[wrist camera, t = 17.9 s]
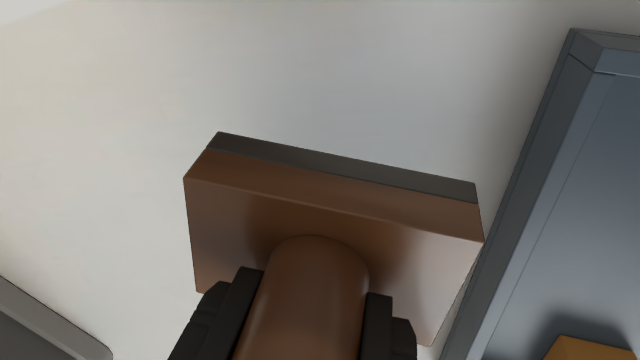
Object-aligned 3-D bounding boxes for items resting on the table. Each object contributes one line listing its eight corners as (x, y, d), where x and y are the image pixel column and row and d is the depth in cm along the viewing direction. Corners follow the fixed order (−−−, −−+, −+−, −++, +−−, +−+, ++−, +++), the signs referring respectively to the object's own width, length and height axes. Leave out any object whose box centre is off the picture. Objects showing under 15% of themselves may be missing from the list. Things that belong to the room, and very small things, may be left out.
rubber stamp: (217, 130, 13) (3, 411, 6) (475, 182, 12) (542, 555, 6) (223, 240, 16) (83, 506, 9) (429, 287, 15) (437, 608, 9)
